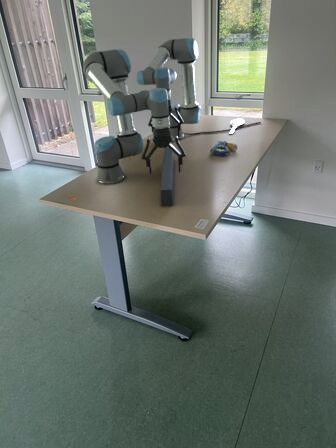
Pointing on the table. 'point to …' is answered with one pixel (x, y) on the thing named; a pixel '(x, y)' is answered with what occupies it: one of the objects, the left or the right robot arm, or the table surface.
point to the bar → (167, 178)
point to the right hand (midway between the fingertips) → (166, 137)
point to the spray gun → (223, 148)
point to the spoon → (236, 124)
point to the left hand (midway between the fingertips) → (165, 172)
